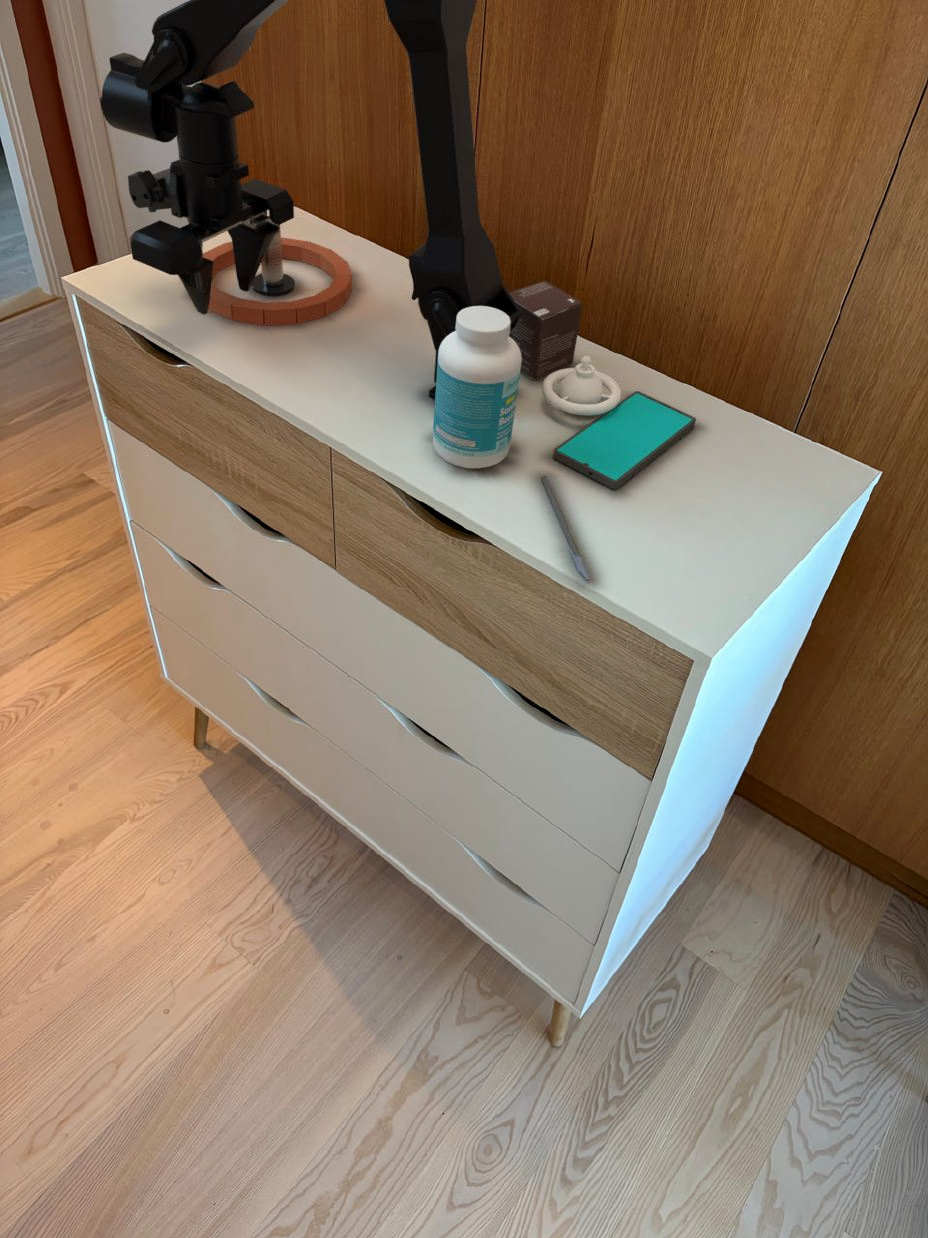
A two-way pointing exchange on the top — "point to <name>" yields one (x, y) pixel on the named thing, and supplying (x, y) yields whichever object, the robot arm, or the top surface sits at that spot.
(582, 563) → the pen
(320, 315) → the ring
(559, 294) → the box
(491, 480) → the top surface
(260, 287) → the post stand
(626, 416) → the smartphone
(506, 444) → the pill bottle
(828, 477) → the top surface
